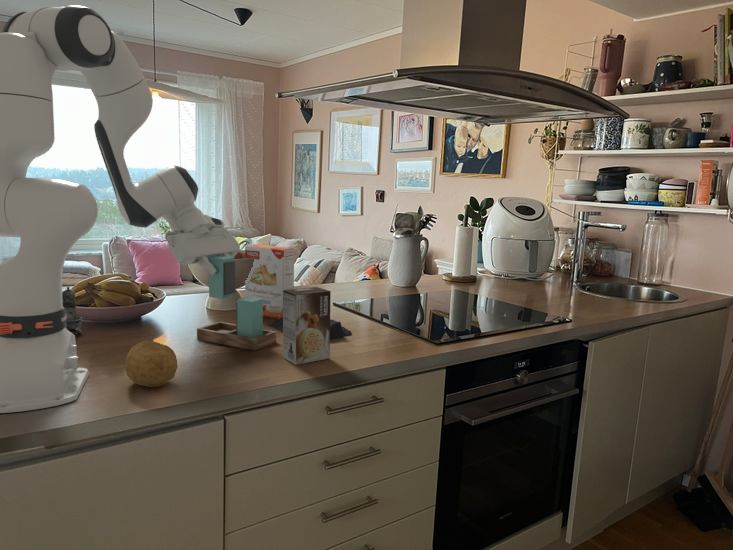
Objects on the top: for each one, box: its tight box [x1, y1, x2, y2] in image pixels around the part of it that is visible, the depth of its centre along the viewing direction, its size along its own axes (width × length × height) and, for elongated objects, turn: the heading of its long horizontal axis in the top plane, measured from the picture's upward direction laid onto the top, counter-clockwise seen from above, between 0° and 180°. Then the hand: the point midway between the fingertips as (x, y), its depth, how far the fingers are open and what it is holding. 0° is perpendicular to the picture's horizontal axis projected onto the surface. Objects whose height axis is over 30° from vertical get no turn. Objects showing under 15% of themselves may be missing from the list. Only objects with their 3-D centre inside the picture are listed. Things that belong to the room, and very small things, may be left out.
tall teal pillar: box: [208, 255, 236, 300], centre depth 139 cm, size 5×4×10 cm
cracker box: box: [244, 243, 295, 320], centre depth 165 cm, size 14×6×21 cm, turn 64°
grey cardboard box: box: [282, 286, 332, 366], centre depth 126 cm, size 9×6×16 cm
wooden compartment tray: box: [196, 321, 277, 352], centre depth 139 cm, size 18×9×3 cm, turn 64°
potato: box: [124, 340, 178, 388], centre depth 108 cm, size 10×14×8 cm
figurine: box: [62, 286, 83, 335], centre depth 140 cm, size 6×6×12 cm
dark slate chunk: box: [269, 318, 352, 341], centre depth 151 cm, size 15×22×5 cm
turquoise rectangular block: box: [235, 296, 264, 338], centre depth 137 cm, size 5×4×10 cm
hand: (223, 271), depth 138 cm, fingers closed on tall teal pillar, 4 cm apart
